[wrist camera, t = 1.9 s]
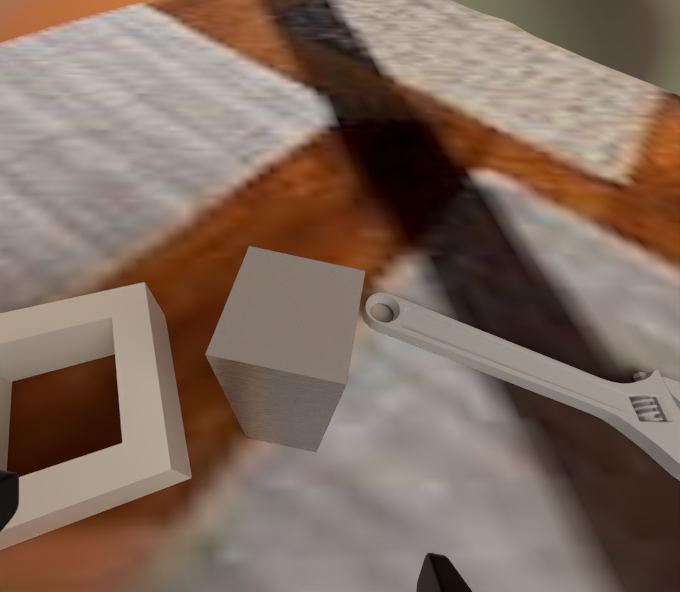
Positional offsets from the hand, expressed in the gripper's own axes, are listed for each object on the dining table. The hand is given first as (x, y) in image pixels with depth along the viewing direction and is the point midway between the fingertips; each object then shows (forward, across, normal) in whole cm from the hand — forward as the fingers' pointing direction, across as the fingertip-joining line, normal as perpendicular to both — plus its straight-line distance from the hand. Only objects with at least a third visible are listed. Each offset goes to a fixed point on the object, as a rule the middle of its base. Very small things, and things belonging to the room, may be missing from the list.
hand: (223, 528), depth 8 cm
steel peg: (+13, 0, +4) cm, 13 cm away
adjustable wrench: (+17, -16, +1) cm, 24 cm away
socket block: (+11, +11, +6) cm, 17 cm away
